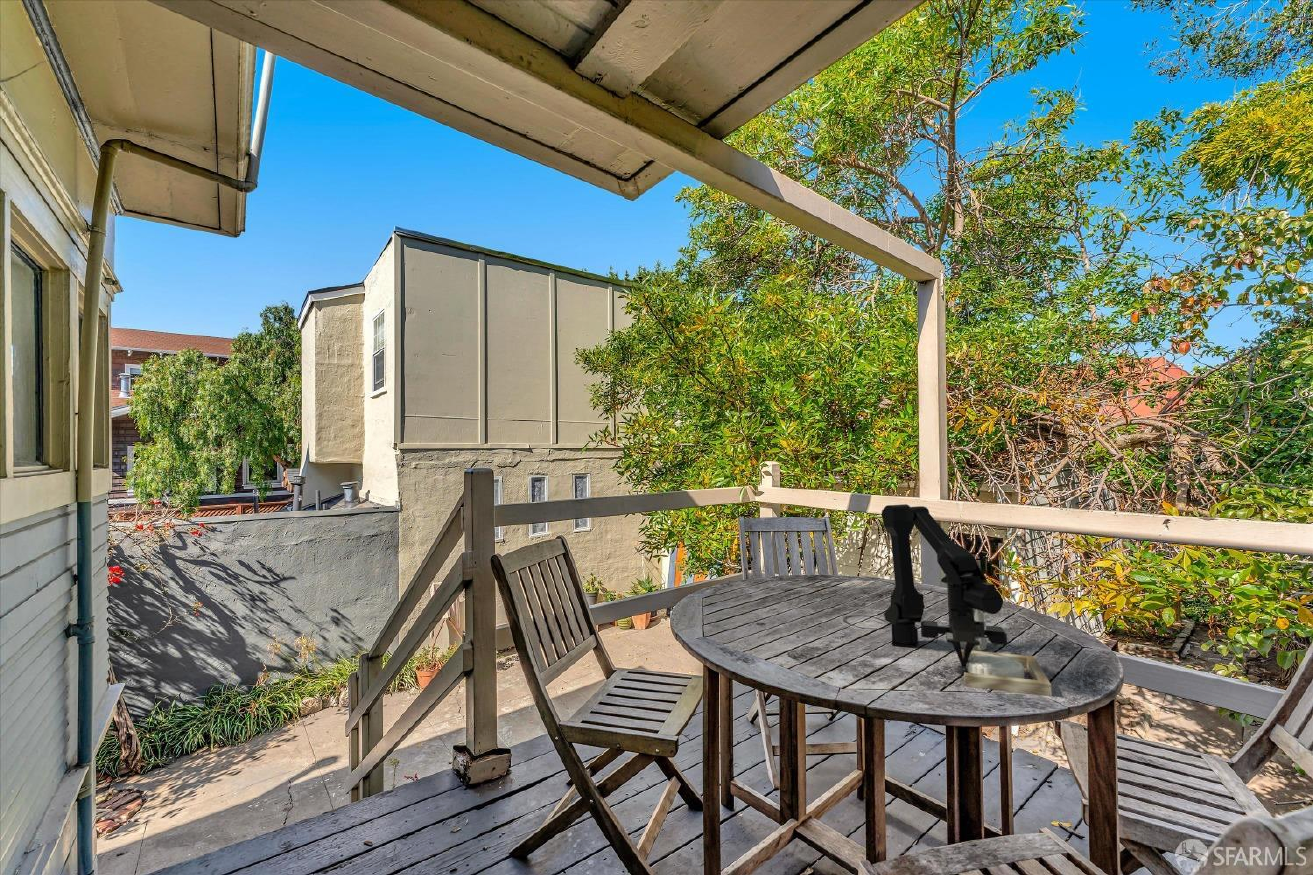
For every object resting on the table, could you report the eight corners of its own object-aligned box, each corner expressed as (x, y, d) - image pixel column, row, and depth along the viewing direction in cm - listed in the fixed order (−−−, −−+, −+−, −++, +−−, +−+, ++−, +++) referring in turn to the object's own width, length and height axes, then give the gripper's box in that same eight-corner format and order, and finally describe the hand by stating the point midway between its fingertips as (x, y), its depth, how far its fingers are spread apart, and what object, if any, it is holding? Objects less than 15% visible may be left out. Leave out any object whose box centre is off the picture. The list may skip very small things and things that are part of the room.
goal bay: (965, 685, 135) (964, 675, 135) (959, 658, 152) (958, 649, 152) (1051, 696, 128) (1051, 684, 128) (1035, 666, 145) (1034, 656, 146)
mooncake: (999, 664, 148) (998, 650, 148) (1036, 682, 136) (1036, 667, 136) (956, 668, 146) (956, 654, 146) (991, 687, 134) (990, 671, 134)
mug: (981, 642, 164) (979, 599, 165) (999, 656, 153) (996, 611, 153) (952, 641, 166) (950, 599, 166) (968, 656, 154) (966, 611, 154)
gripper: (920, 608, 140) (922, 673, 140) (1009, 615, 133) (1012, 684, 132) (919, 597, 151) (922, 658, 150) (1002, 603, 143) (1005, 667, 143)
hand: (963, 666), depth 144 cm, fingers closed
